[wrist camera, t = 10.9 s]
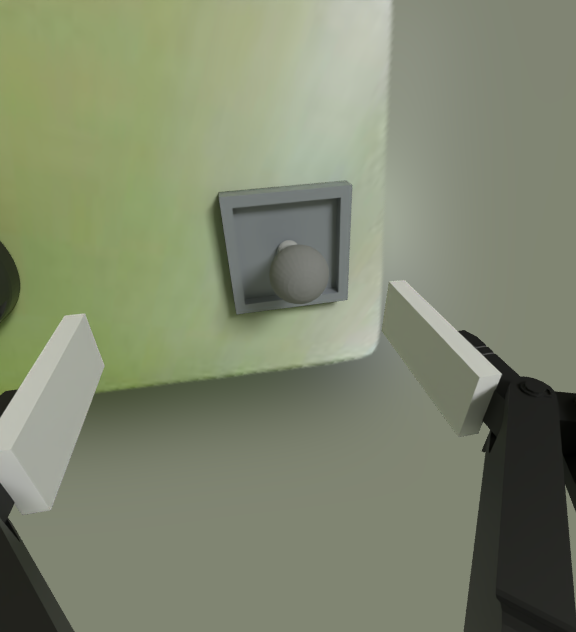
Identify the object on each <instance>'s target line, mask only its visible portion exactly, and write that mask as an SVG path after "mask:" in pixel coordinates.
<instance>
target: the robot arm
mask: <svg viewBox="0 0 576 632" xmlns="http://www.w3.org/2000/svg"><path fill="white" fill-rule="evenodd" d="M19 292H20V280H19V274H18V271H17V268H16V265H15V263H14V261H13V259H12V257H11V255H10V254H9V252H8V251H7V249H6V248H5V246H4V245H3V244H2V243H1V242H0V322H1V321H2V320H3V319H4V318H5V317H6V316H7V315H8V314H9V312H10V311H11V310H12V309H13V307H14V306H15V304H16V302H17V300H18V297H19ZM382 332H383V333H384V335H385V336H386V337H387V339H388V340H389V342H390V343H391V345H392V346H393V347H394V349H395V350H396V351H397V353H398V354H399V356H400V357H401V358H402V360H403V361H404V362H405V364H406V365H407V366H408V368H409V369H410V370H411V372H412V374H413V375H414V376H415V378H416V379H417V381H418V382H419V383H420V384H421V386H422V387H423V389H424V390H425V391H426V393H427V394H428V396H429V397H430V399H431V400H432V401H433V403H434V404H435V405H436V407H437V408H438V410H439V411H440V412H441V414H442V415H443V416H444V418H445V419H446V421H447V422H448V423H449V425H450V426H451V427H452V429H453V430H454V432H455V433H456V434H457V436H458V437H462V436H467V435H473V434H478V433H479V431H480V428H481V425H482V423H483V422H484V423H485V424H486V425H487V426H488V428H489V429H490V432H489V435H488V437H487V439H486V442H485V444H484V446H483V449H482V451H483V452H486V453H485V462H484V470H483V478H482V486H481V494H480V502H479V511H478V519H477V527H476V536H475V543H474V552H473V560H472V568H471V576H470V584H469V592H468V601H467V609H466V617H465V625H464V632H576V610H575V600H574V599H575V598H574V586H573V575H572V563H571V551H570V541H569V540H570V539H569V527H568V516H567V504H566V494H565V493H566V492H565V485H566V488H567V490H568V493H569V495H570V498H571V501H572V503H573V506H574V508H575V510H576V393H565V392H555V391H554V390H553V389H552V388H551V387H550V386H548V385H547V384H545V383H544V382H542V381H539V380H537V379H534V378H530V377H520V376H519V375H518V374H517V373H516V372H515V371H514V370H512V369H511V368H510V367H509V366H508V365H507V364H506V363H505V362H504V361H503V360H502V359H501V358H500V357H498V356H497V355H496V354H494V353H493V351H492V350H491V349H490V348H489V347H486V345H485V344H484V343H483V342H482V341H481V340H480V339H479V338H478V337H476V336H474V335H473V334H470V333H469V332H467V331H465V330H462V331H457V330H456V329H455V328H454V327H453V326H452V325H451V324H450V323H449V322H447V320H445V319H444V318H443V317H442V316H441V315H440V314H439V313H438V312H437V311H436V310H435V309H434V308H433V307H432V306H431V305H430V304H429V303H428V302H427V301H426V300H425V299H424V298H423V297H422V296H421V295H420V294H418V292H416V291H415V290H414V289H413V288H412V287H411V286H410V285H409V284H408V283H407V282H406V281H405V280H400V281H390V282H389V285H388V292H387V298H386V305H385V312H384V319H383V325H382ZM103 369H104V363H103V361H102V358H101V355H100V352H99V350H98V347H97V344H96V342H95V339H94V336H93V334H92V331H91V328H90V326H89V323H88V320H87V318H86V315H85V314H76V315H66V316H64V317H63V319H62V321H61V322H60V324H59V325H58V327H57V329H56V330H55V332H54V333H53V335H52V337H51V338H50V340H49V341H48V343H47V344H46V346H45V348H44V349H43V351H42V352H41V354H40V356H39V357H38V359H37V360H36V362H35V364H34V365H33V367H32V368H31V370H30V371H29V373H28V375H27V376H26V378H25V379H24V381H23V383H22V384H21V386H20V387H19V389H18V390H11V391H5V392H4V393H3V394H2V395H0V632H74V631H73V629H72V627H71V625H70V623H69V621H68V620H67V618H66V616H65V615H64V613H63V611H62V610H61V608H60V606H59V604H58V602H57V601H56V599H55V597H54V595H53V594H52V592H51V590H50V588H49V587H48V585H47V583H46V582H45V580H44V578H43V576H42V575H41V573H40V571H39V569H38V568H37V566H36V564H35V562H34V561H33V559H32V557H31V555H30V554H29V552H28V550H27V548H26V547H25V545H24V543H23V541H22V540H21V538H20V536H19V535H18V533H17V531H16V529H15V528H14V526H13V524H12V523H11V521H10V520H9V519H8V516H9V514H10V511H11V509H12V507H13V505H14V504H15V506H16V507H17V508H18V510H19V511H20V512H21V514H22V515H26V514H31V513H37V512H43V511H48V510H51V509H52V506H53V503H54V501H55V498H56V495H57V492H58V490H59V487H60V484H61V482H62V479H63V476H64V474H65V471H66V468H67V466H68V463H69V460H70V457H71V454H72V452H73V449H74V447H75V444H76V441H77V439H78V436H79V433H80V430H81V428H82V425H83V422H84V420H85V417H86V414H87V412H88V409H89V406H90V403H91V401H92V398H93V396H94V393H95V390H96V387H97V385H98V382H99V379H100V377H101V374H102V371H103Z"/></svg>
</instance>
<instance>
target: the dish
mask: <svg viewBox="0 0 576 632" xmlns="http://www.w3.org/2000/svg"><path fill="white" fill-rule="evenodd" d="M219 202H220V209H221V216H222V222H223V229H224V235H225V242H226V248H227V255H228V262H229V268H230V275H231V281H232V288H233V295H234V301H235V308H236V314H243V313H251V312H259V311H266V310H274V309H281V308H289V307H297V306H304V305H312V304H320V303H327V302H335V301H343V300H347V298H348V274H349V250H350V227H351V203H352V184H350V183H349V182H347V181H336V182H325V183H314V184H303V185H292V186H282V187H271V188H260V189H249V190H238V191H227V192H219ZM286 240H292V241H294V242H296V243H297V244H300V245H307V246H310V247H312V248H314V249H316V250H317V251H318V252H319V253H321V255H322V256H323V257H324V258H325V260H326V262H327V264H328V268H329V279H328V283H327V286H326V288H325V290H324V291H323V293H322V294H321V295H320V296H319V297H318V298H316V299H315V300H313V301H311V302H309V303H306V304H293V303H289V302H286V301H284V300H283V299H281V298H280V297H279V296H278V295H277V294H276V293H275V292H274V290H273V289H272V286H271V283H270V278H269V273H270V267H271V263H272V261H273V259H274V257H275V256H276V255H277V250H278V247H279V245H280V244H281V243H282V242H284V241H286Z"/></svg>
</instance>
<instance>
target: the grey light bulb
mask: <svg viewBox="0 0 576 632" xmlns="http://www.w3.org/2000/svg"><path fill="white" fill-rule="evenodd" d="M269 278H270V283H271V286H272V289H273V290H274V292H275V293H276V294H277V295H278V296H279V297H280V298H281V299H283V300H284V301H286V302H289V303H293V304H306V303H309V302H311V301H313V300H315V299H316V298H318V297H319V296H320V295H321V294H322V293H323V291H324V290H325V288H326V286H327V283H328V279H329V268H328V264H327V262H326V260H325V258H324V257H323V256H322V255H321V253H319V252H318V251H317V250H316V249H314V248H312V247H310V246H307V245H300V244H297V243H296V242H294V241H292V240H286V241H284V242H282V243H281V244H280V245H279V247H278V250H277V255H276V256H275V257H274V259H273V261H272V263H271V267H270V273H269Z"/></svg>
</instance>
